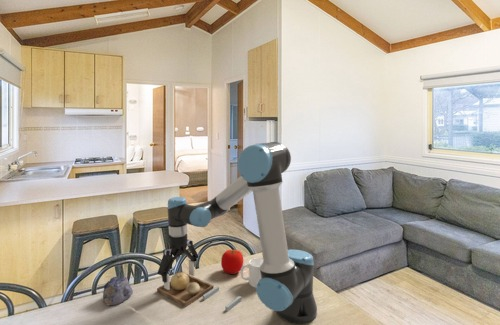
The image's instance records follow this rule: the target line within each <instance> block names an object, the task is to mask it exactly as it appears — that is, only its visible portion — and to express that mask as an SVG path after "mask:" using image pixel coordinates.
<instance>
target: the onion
mask: <svg viewBox="0 0 500 325" xmlns="http://www.w3.org/2000/svg"><path fill="white" fill-rule="evenodd" d="M187 274H188V273H186V272H183V271H180V272H179V271H178V272H175V274H173V275H172V277H170V280H169V282H170V283H171V286H172V288H173V289H175V290H182V289H184V288H186V287H187V286H188V284H189V277H188V275H189V274H188V275H187Z"/></svg>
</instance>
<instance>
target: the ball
mask: <svg viewBox="0 0 500 325" xmlns="http://www.w3.org/2000/svg"><path fill="white" fill-rule="evenodd" d="M187 290H188V293H189V294H190V295H196V294H198V292H199V290H200V286H199V284H198V283H196V282H192V283H190V284H189V286H188V289H187Z"/></svg>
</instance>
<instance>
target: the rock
mask: <svg viewBox="0 0 500 325" xmlns="http://www.w3.org/2000/svg"><path fill="white" fill-rule="evenodd" d="M133 291H134V290H133V288H132V286H131V284H130V282H129V280H128V277H126V276H125V277H123V276H114V277H111V278H110V280H109V281H107V282H106V283H105V284H103V291H102V292H103V293H102V299H103V303H104V304H106V305H108V306H113V305H114V306H115V305H120V304H122V303H123V302H124V301H126V300H129V299H130V298H131V297H132V295H133Z"/></svg>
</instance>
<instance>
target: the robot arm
mask: <svg viewBox="0 0 500 325" xmlns="http://www.w3.org/2000/svg"><path fill="white" fill-rule="evenodd" d="M291 156H292V155H291V152H290V150H289V148H288V147H287V146H286V145H285V144H283V143H281V142H279V141H272V142H271V141H270V142H261V143H255V144H252V145H251V144H250V145H248V146H247V147H245V148H244V149H242V151H241V153H240V154H239V156H238V158H237V169H238V173H239V175H240V176H239V177H238V178H236V179H235V180H233V182H232V183H230V184H229V185H228V186H227V187H225V188H224V189H223V190H222V191H220V192H219V193H218V194H217V195H216V196H215V197H213V198H212V199H211V200H208V201H206V202H202V203H199V204H197V205H192V204H189V203H187V198H186V197H183V196H174V197H170V198H169V199H168V200H167V220H168V222H167V223H168V244H169V249H166V248H165V249H163V254H162V257H161V262H160V264H159V266H158V269H157V275H158V276H161V278H162V282H163V285H164V288H165V289H167V290H169V289H170V274H169V272H170V269H171V268H172V266H173V264H174V262H175V261H176V259H177V258H178V257H180V256H183V255H185V256H186V257H187V258H188V259H189V260H188V275H191V276H193V277H195V267H196V262H197V261H198V259H199V254H198V252H197V250H196V249H195V246H194V244H193V240H190V239H188V225H191V226H194V227H198V228H205V227H207V226H208V225H209V224H210V222H211V220H213V219H215V218H217V217H220V216H224V215H225V214H226V213H228V212H229V210H230V209H231V207H234V205H237V203H239V202H240V201H241V200H243V199H244V198H245V197H246V196H248V195H249V194H251V192H252V193H253V194H252V196H253V201H254V207H255V214H256V220H257V227H258V233H259V240H260V247H261V252H262V258H263V263H262V264H261V265H260V272H261V279H260V280H259V282H258V284H257V287H256V294H257V296H258V300H260V302H261V303H262V304H263V305H264V306H265V307H266V308H268V309H269V310H271V311H275V312H276V313H277V315H278V316H279V317H280V318H281V319H283V320H284V321H286V322H289V323H291V324H292V323H293V324H307V323H310V322H312V321H314V320H315V319H316V317H317V314H318V306H317V302H316V300H315V297H314V296H315V295H314V293H313V292H314V290H313V289H314V269H315V268H314V266H315V262H314V256H313V255H312V254H311V253H310V252H307V251H305V250H301V249H288V243H287V236H286V229H285V221H284V216H283V208H282V201H281V195H280V194H281V192H280V186H281V185H282V184H283V177H282V176H283V173H285V172H286V171H287V170H288V169H289V167H290V165H291V161H292V157H291ZM187 248H188V249H189V250H188V249H187Z"/></svg>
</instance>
